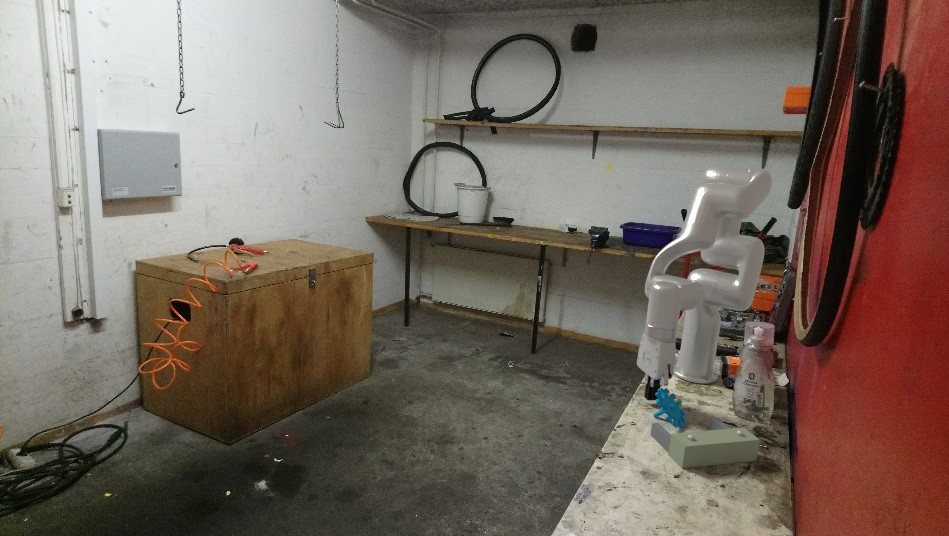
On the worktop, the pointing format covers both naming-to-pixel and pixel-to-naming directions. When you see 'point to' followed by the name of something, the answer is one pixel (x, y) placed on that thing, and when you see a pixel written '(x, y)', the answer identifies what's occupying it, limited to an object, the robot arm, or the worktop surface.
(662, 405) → the blue bumpy irregular piece
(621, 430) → the worktop surface
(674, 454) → the grey-green u-shaped bracket
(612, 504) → the worktop surface
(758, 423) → the worktop surface
